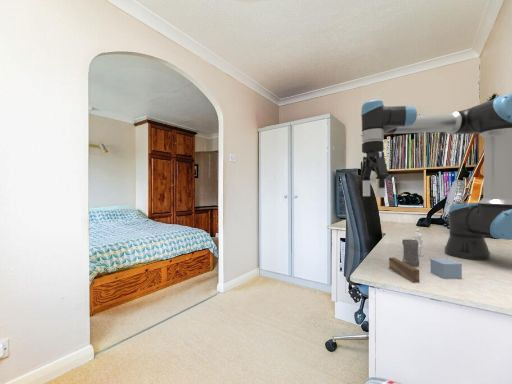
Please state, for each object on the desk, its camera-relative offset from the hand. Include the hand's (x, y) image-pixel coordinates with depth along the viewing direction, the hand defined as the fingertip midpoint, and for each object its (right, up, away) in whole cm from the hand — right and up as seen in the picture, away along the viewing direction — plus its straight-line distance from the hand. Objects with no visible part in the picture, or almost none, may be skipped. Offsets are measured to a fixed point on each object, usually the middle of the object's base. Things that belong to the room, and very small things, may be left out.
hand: (373, 196), depth 92 cm
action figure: (+26, -27, +15) cm, 40 cm away
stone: (+15, -27, +1) cm, 31 cm away
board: (+6, -27, -9) cm, 29 cm away
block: (+20, -27, -10) cm, 35 cm away
